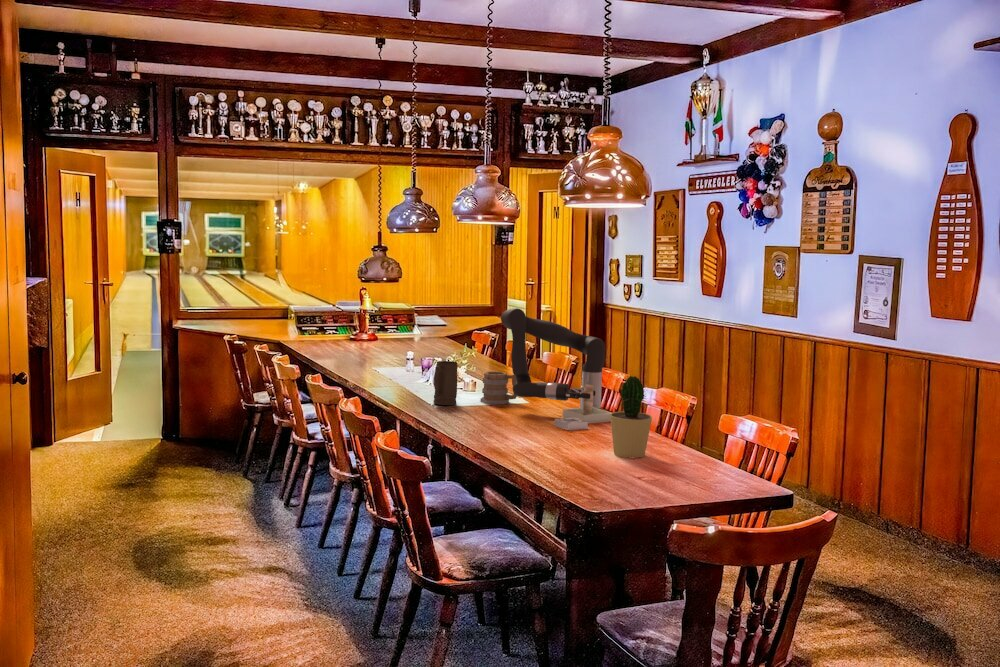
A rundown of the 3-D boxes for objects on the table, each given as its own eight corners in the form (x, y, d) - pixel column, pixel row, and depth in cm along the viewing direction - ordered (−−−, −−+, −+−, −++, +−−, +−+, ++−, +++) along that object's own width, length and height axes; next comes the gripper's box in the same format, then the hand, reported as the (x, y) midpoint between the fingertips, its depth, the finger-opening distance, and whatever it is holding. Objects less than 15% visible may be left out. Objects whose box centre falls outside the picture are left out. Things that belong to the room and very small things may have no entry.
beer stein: (439, 401, 441) (440, 359, 439) (460, 403, 438) (461, 361, 436) (426, 406, 427) (427, 363, 425) (447, 408, 423) (449, 365, 421)
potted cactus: (601, 451, 350) (604, 372, 346) (637, 448, 355) (641, 371, 352) (620, 460, 335) (624, 378, 332) (657, 458, 341) (662, 377, 337)
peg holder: (554, 425, 393) (554, 418, 392) (574, 424, 398) (574, 417, 397) (567, 430, 384) (567, 423, 384) (587, 428, 389) (587, 421, 389)
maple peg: (581, 416, 410) (582, 384, 409) (588, 415, 412) (590, 384, 411) (586, 418, 407) (587, 386, 405) (593, 417, 409) (595, 385, 407)
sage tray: (562, 416, 413) (562, 409, 412) (592, 414, 420) (592, 406, 420) (583, 423, 399) (583, 415, 398) (613, 421, 407) (613, 413, 406)
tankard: (478, 403, 440) (478, 371, 438) (486, 398, 452) (487, 368, 450) (518, 406, 434) (519, 374, 433) (525, 402, 446) (526, 371, 445)
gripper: (552, 385, 406) (589, 388, 401) (562, 380, 420) (597, 384, 414) (552, 402, 407) (588, 405, 402) (561, 397, 420) (596, 400, 415)
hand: (592, 394), depth 408 cm, fingers open, 8 cm apart
